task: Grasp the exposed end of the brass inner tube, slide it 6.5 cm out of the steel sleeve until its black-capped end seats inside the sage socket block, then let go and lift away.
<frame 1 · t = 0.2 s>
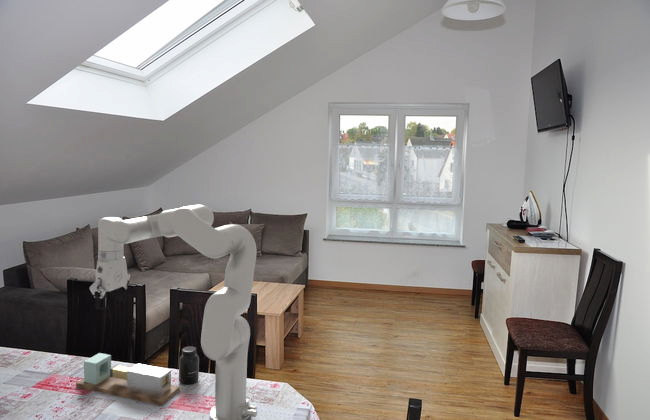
hand: (111, 304, 150), 30 cm above the table, tool pointing down, fingers open, 9 cm apart
walnut base board: (128, 388, 153), on the table
brass inner tube: (137, 375, 152), point 5 cm above the table, slide at 8.0 cm
sage socket block: (98, 382, 157), resting on walnut base board
supplement bottle: (188, 381, 160), on the table
steel sleeve: (149, 393, 151), resting on walnut base board
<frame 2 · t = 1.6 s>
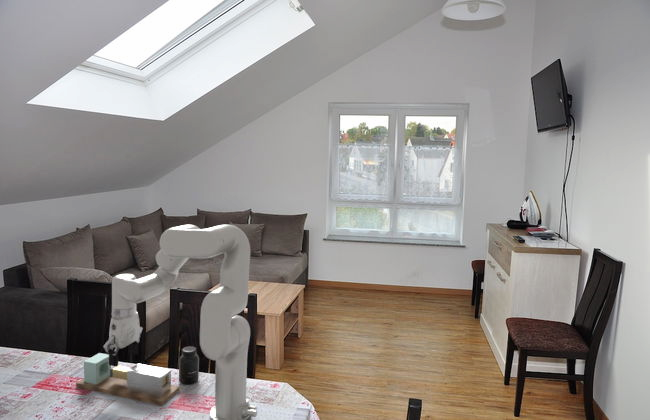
hand: (123, 359, 153), 10 cm above the table, tool pointing down, fingers open, 9 cm apart
nothing on the table moved.
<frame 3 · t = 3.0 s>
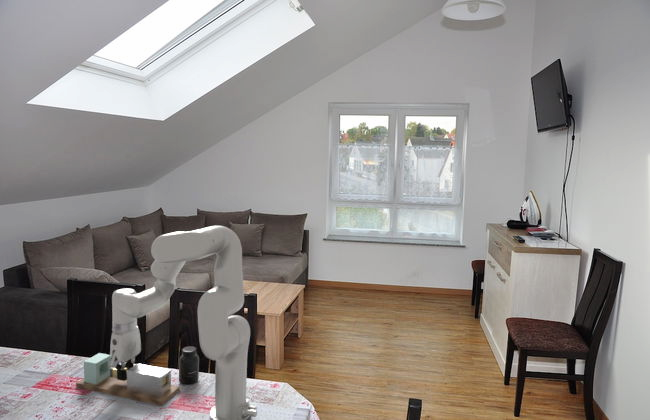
hand: (125, 376, 153), 4 cm above the table, tool pointing down, fingers closed on brass inner tube, 3 cm apart
brass inner tube: (137, 375, 152), point 6 cm above the table, slide at 8.0 cm, touching gripper
everything else where it was.
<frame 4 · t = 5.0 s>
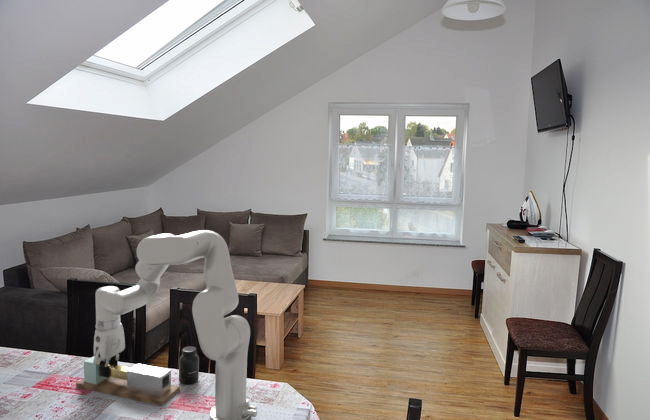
hand: (109, 373, 155), 4 cm above the table, tool pointing down, fingers closed on brass inner tube, 3 cm apart
brass inner tube: (121, 372, 153), point 6 cm above the table, slide at 14.6 cm, touching gripper
everything else where it was.
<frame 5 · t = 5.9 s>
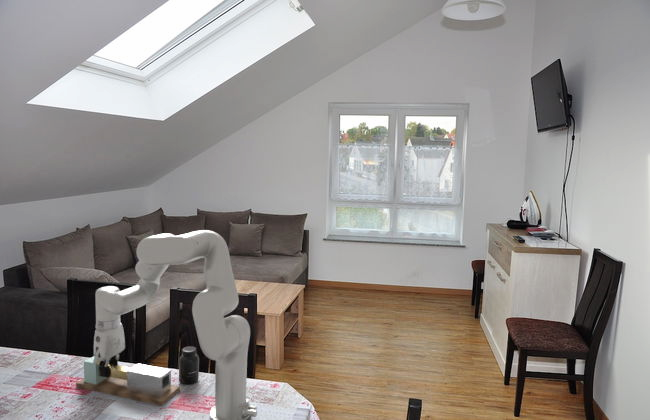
hand: (109, 373, 155), 4 cm above the table, tool pointing down, fingers closed on brass inner tube, 3 cm apart
brass inner tube: (121, 372, 153), point 5 cm above the table, slide at 14.6 cm, touching gripper
everything else where it was.
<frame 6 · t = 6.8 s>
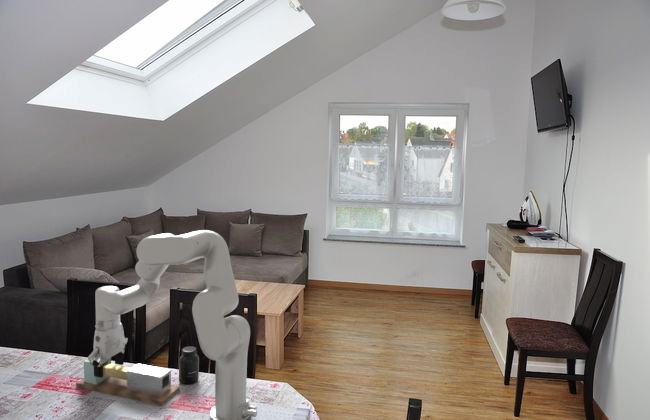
hand: (109, 370, 155), 5 cm above the table, tool pointing down, fingers open, 9 cm apart
brass inner tube: (121, 372, 153), point 6 cm above the table, slide at 14.5 cm
everything else where it was.
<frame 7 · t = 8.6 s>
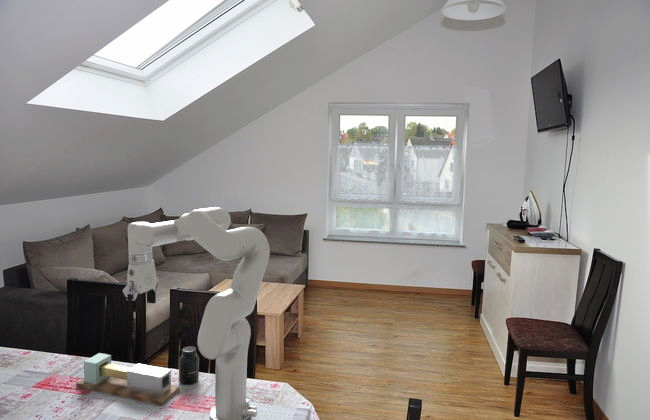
hand: (142, 307, 154), 28 cm above the table, tool pointing down, fingers open, 9 cm apart
nothing on the table moved.
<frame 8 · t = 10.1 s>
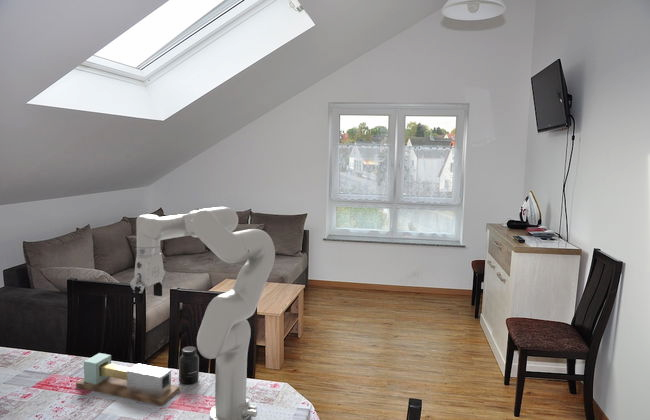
hand: (148, 299, 154), 30 cm above the table, tool pointing down, fingers open, 9 cm apart
nothing on the table moved.
at the end: brass inner tube slide at 14.5 cm; the gripper is holding nothing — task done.
